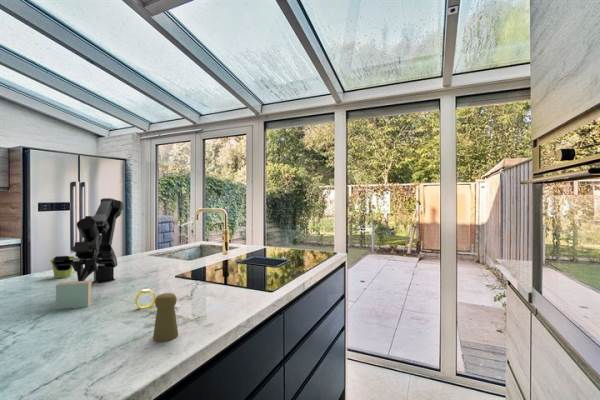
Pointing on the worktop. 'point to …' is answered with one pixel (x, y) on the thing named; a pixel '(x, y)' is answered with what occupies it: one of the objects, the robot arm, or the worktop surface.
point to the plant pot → (62, 273)
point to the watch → (145, 292)
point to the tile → (73, 294)
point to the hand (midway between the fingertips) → (79, 282)
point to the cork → (165, 318)
